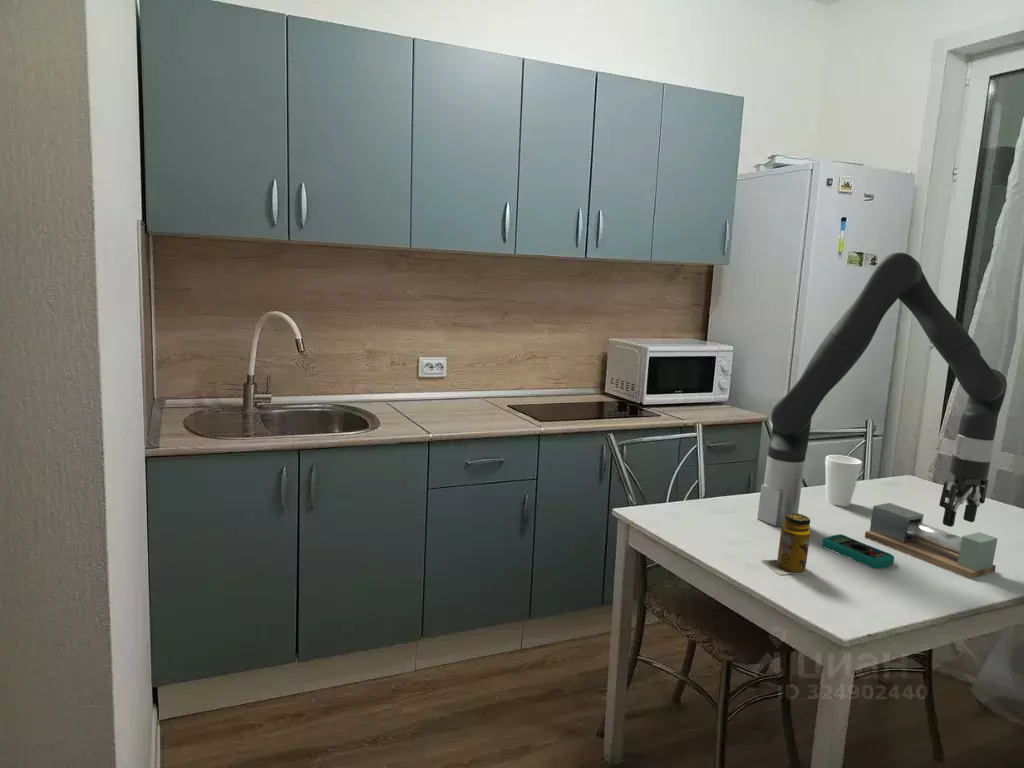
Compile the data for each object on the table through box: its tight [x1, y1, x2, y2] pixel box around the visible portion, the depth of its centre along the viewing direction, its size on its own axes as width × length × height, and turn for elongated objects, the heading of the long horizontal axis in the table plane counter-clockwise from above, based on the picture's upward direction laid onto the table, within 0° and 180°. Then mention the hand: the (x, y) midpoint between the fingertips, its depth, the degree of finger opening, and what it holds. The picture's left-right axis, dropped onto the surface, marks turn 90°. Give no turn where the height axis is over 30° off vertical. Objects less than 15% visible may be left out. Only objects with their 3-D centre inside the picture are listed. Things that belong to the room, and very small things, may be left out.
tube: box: [907, 520, 962, 554], centre depth 173 cm, size 4×19×4 cm, turn 30°
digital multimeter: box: [821, 533, 895, 570], centre depth 172 cm, size 7×15×3 cm, turn 31°
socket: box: [957, 531, 998, 572], centre depth 166 cm, size 7×4×7 cm, turn 120°
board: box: [864, 530, 996, 580], centre depth 176 cm, size 10×26×2 cm, turn 30°
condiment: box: [761, 513, 814, 576], centre depth 162 cm, size 7×8×12 cm
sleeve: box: [869, 502, 924, 544], centre depth 182 cm, size 7×9×7 cm
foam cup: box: [824, 454, 863, 507], centre depth 210 cm, size 10×9×13 cm
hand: (958, 523), depth 169 cm, fingers open, 8 cm apart
